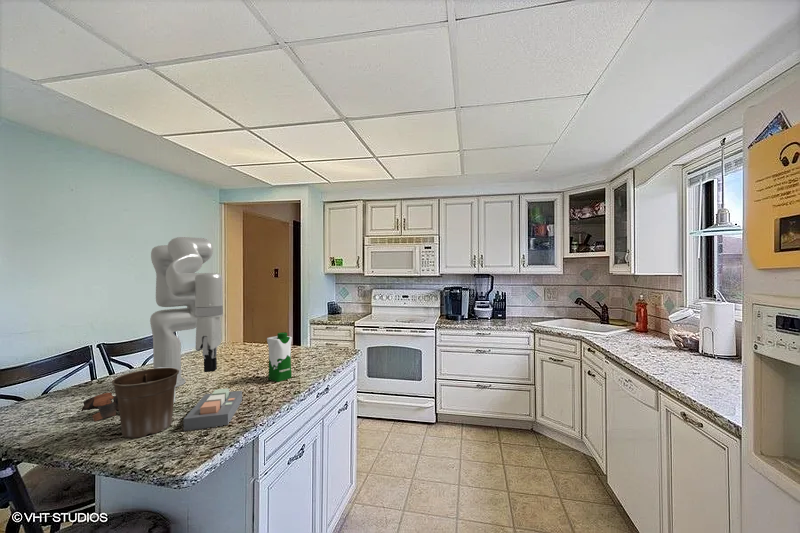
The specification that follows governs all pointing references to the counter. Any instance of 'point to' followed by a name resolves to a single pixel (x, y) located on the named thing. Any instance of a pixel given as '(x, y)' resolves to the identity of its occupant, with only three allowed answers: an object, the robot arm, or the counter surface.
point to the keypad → (214, 419)
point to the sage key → (222, 392)
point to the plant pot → (145, 400)
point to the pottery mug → (102, 405)
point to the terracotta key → (210, 407)
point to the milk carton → (279, 357)
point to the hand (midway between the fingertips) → (210, 370)
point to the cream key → (217, 398)
